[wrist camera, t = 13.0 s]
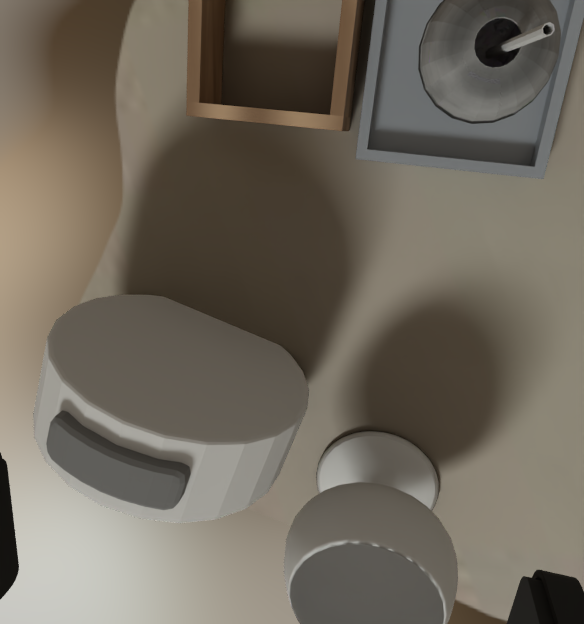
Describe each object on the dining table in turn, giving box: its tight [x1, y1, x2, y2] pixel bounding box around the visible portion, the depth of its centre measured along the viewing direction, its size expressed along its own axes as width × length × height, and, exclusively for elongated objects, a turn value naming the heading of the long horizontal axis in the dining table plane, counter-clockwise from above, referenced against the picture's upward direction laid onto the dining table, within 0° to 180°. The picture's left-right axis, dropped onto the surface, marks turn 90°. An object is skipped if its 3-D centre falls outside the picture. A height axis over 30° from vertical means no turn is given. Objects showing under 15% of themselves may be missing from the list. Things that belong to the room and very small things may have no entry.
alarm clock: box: [33, 295, 309, 523], centre depth 43 cm, size 21×8×20 cm, turn 71°
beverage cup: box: [418, 0, 561, 124], centre depth 30 cm, size 7×7×20 cm
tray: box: [356, 0, 584, 179], centre depth 39 cm, size 14×14×2 cm
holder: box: [186, 0, 365, 131], centre depth 39 cm, size 12×12×5 cm
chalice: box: [284, 431, 458, 624], centre depth 46 cm, size 14×14×15 cm
